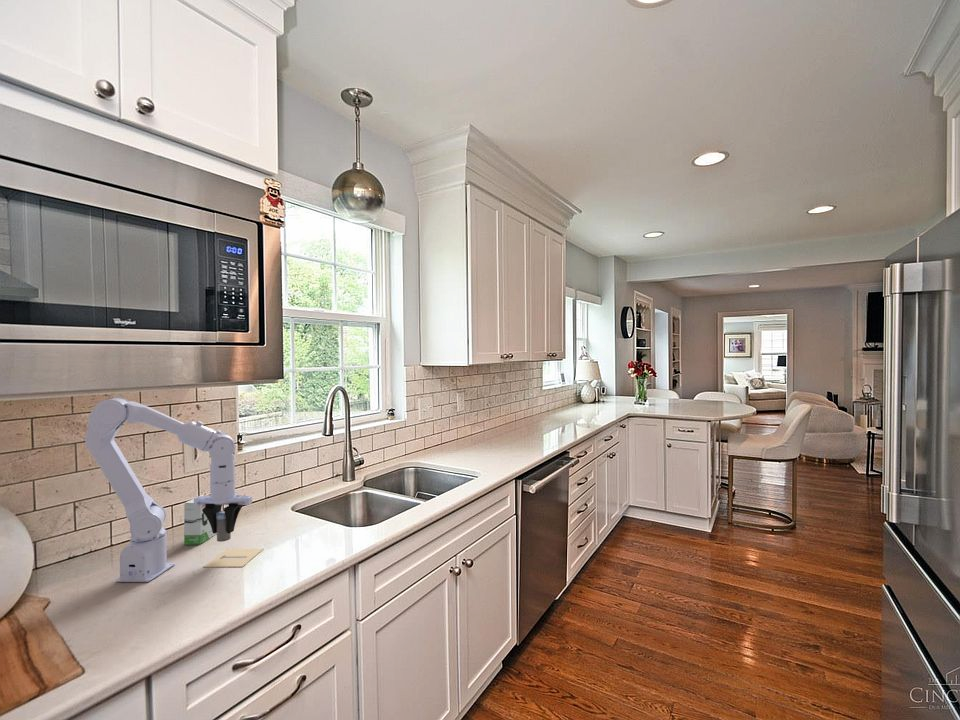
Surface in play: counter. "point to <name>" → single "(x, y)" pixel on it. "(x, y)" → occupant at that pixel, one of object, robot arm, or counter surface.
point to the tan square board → (233, 558)
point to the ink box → (196, 524)
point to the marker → (222, 527)
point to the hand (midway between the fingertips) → (223, 532)
